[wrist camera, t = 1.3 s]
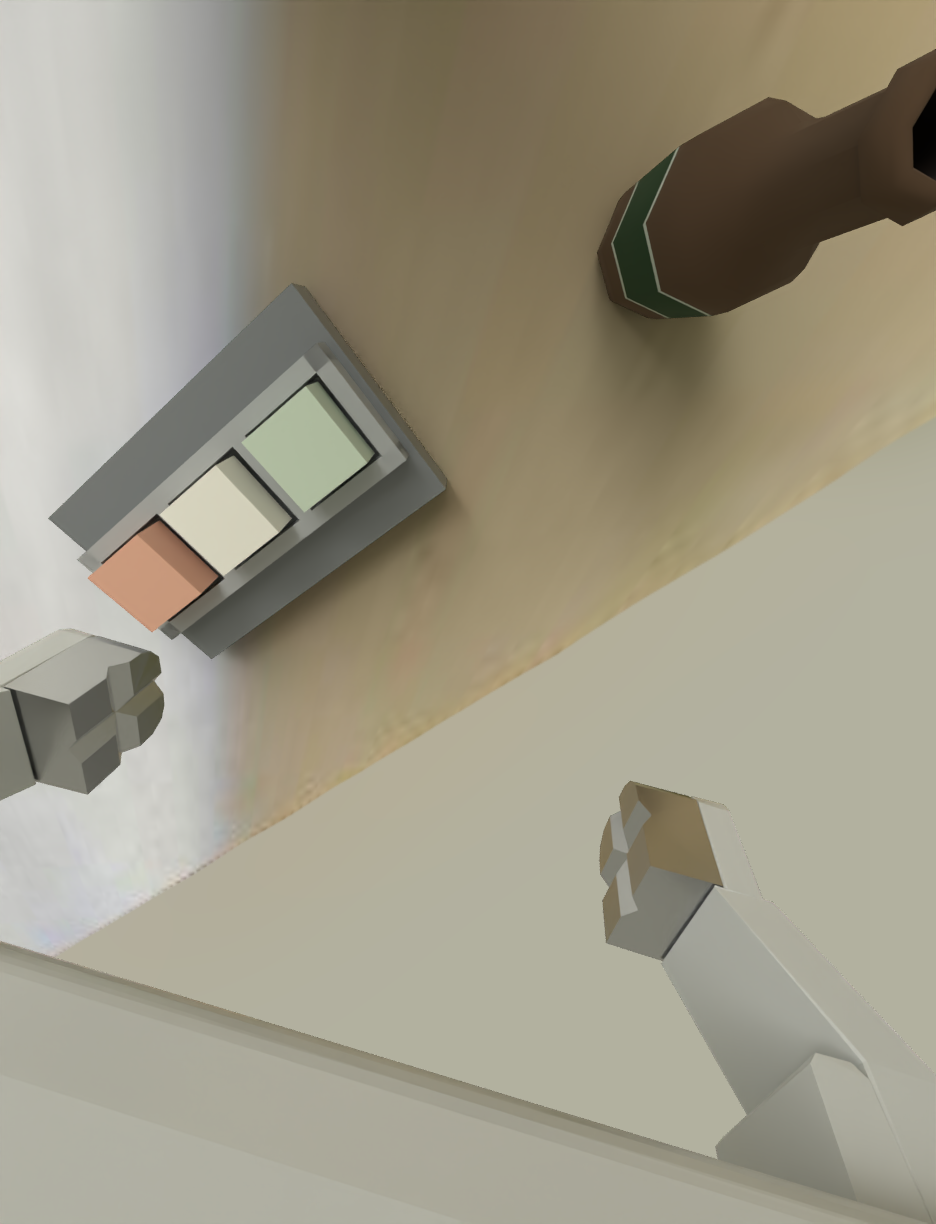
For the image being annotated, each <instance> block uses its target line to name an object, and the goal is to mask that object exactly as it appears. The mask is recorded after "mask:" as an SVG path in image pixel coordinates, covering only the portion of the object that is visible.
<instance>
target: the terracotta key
mask: <svg viewBox="0 0 936 1224" xmlns="http://www.w3.org/2000/svg"><path fill="white" fill-rule="evenodd" d="M217 577H218V575H217V574H216V573H215V572H213V571H212V570H211V569H210V568H209V567H208V566H207V565H206V564H205V563H204V562H203V561H202V560H201V559H200V558H199V557H198V556H197V555H196V554H195V553H193V552H192V551H191V550H190V549H189V548H188V547H187V546H186V545H185V544H184V543H183V542H182V541H181V540H180V539H179V538H178V537H177V536H176V535H174V534H173V533H172V532H171V531H170V530H169V529H168V528H167V527H166V526H165V525H164V524H163V523H162V522H161V521H160V520H159V521H158V522H156V523H154V524H153V525H151V526H150V527H148V528H146V529H145V530H143V531H142V532H140V533H138V534H137V535H136V536H135V537H133V538H132V539H131V540H130V541H129V542H128V543H127V544H125V545H124V546H123V547H122V548H121V549H120V550H119V551H118V552H116V553H115V554H114V555H113V556H112V557H111V558H110V559H108V560H107V561H106V562H105V563H104V564H103V565H102V566H100V567H99V568H98V569H97V570H96V571H95V572H94V573H93V574H91V575H90V576H89V577H88V579H89V580H90V581H91V582H93V583H94V584H95V585H96V586H97V587H99V588H100V589H101V590H102V591H103V592H105V593H106V594H107V595H108V596H109V597H110V598H112V599H113V600H114V601H115V602H116V603H118V604H119V605H120V606H121V607H122V608H124V609H125V610H126V611H127V612H128V613H130V614H131V615H132V616H133V617H134V618H136V619H137V620H138V621H139V622H140V623H141V624H143V625H144V626H145V627H146V628H147V629H149V630H150V631H151V632H153V631H154V630H156V629H157V628H158V627H159V626H161V625H162V624H163V623H165V622H166V621H167V620H168V619H170V618H171V617H172V616H173V615H175V614H176V613H177V612H179V611H180V610H181V609H182V608H184V607H185V606H186V605H187V604H189V603H190V602H191V601H193V600H194V599H195V598H196V597H198V596H199V595H200V594H201V593H202V592H203V591H204V590H205V589H206V588H207V587H208V586H209V585H210V584H211V583H212V582H213V581H214V580H215V579H216V578H217Z"/></svg>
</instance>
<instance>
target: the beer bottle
mask: <svg viewBox="0 0 936 1224" xmlns="http://www.w3.org/2000/svg"><path fill="white" fill-rule="evenodd" d="M934 211H936V49H935V50H933V51H931V52H929V53H927V54H925V55H924V56H922V57H920V58H918V59H916V60H914V61H912V62H910V63H908V64H906V65H905V66H903V67H901V68H899V69H897V71H896V73H895V74H894V76H893V78H892V80H891V82H890V83H889V85H888V87H887V88H885V89H883V90H881V91H879V92H877V93H875V94H873V95H870V96H868V97H866V98H864V99H862V100H860V101H858V102H856V103H853V104H851V105H849V106H847V107H845V108H843V109H841V110H839V111H836V112H834V113H832V114H830V115H828V116H826V117H822V118H817V119H816V118H814V117H813V116H811V115H809V114H808V113H806V112H804V111H802V110H801V109H799V108H797V107H796V106H794V105H792V104H791V103H789V102H787V101H785V100H780V99H775V98H769V97H768V98H766V99H764V100H763V101H761V102H759V103H757V104H755V105H753V106H751V107H750V108H748V109H746V110H744V111H742V112H740V113H738V114H737V115H735V116H733V117H731V118H729V119H727V120H726V121H724V122H722V123H720V124H718V125H716V126H714V127H713V128H711V129H709V130H707V131H705V132H703V133H701V134H700V135H698V136H696V137H694V138H693V139H691V140H689V141H688V142H686V143H684V144H682V145H681V146H679V147H678V148H677V149H676V150H675V151H673V152H672V153H671V154H670V155H669V156H668V157H666V158H665V159H664V160H663V161H662V162H661V163H659V164H658V165H657V166H656V167H655V168H654V169H652V170H651V171H650V172H649V173H648V174H647V175H645V176H644V177H643V178H642V179H641V180H639V181H638V182H637V183H636V184H635V185H634V186H632V187H631V188H630V189H629V190H628V191H627V192H625V194H624V195H623V196H622V197H621V198H620V200H619V201H618V204H617V206H616V209H615V211H614V213H613V216H612V218H611V221H610V223H609V225H608V228H607V230H606V233H605V235H604V238H603V240H602V242H601V245H600V247H599V250H598V252H597V254H598V258H599V261H600V265H601V269H602V273H603V276H604V280H605V284H606V287H607V291H608V295H609V299H610V300H611V301H613V302H615V303H617V304H619V305H621V306H623V307H626V308H628V309H630V310H632V311H634V312H636V313H638V314H640V315H643V316H645V317H647V318H652V319H664V318H682V317H700V316H713V315H717V314H721V313H725V312H729V311H731V310H733V309H735V308H737V307H739V306H741V305H744V304H746V303H748V302H750V301H752V300H754V299H756V298H758V297H761V296H763V295H765V294H767V293H769V292H771V291H773V290H776V289H778V288H780V287H782V286H784V285H786V284H788V283H790V282H792V281H793V280H794V279H795V278H796V277H797V276H798V275H799V274H800V273H801V272H802V271H803V270H804V269H805V267H806V265H807V263H808V262H809V260H810V258H811V257H812V255H813V253H814V251H815V250H816V248H817V246H818V245H819V243H820V242H821V241H824V240H827V239H830V238H832V237H835V236H838V235H841V234H843V233H846V232H849V231H852V230H855V229H857V228H860V227H863V226H866V225H868V224H871V223H874V222H877V221H880V220H882V219H885V218H889V219H891V220H892V221H894V222H896V223H898V224H899V225H901V226H904V225H906V224H908V223H910V222H912V221H914V220H916V219H919V218H921V217H923V216H925V215H927V214H929V213H931V212H934Z"/></svg>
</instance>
